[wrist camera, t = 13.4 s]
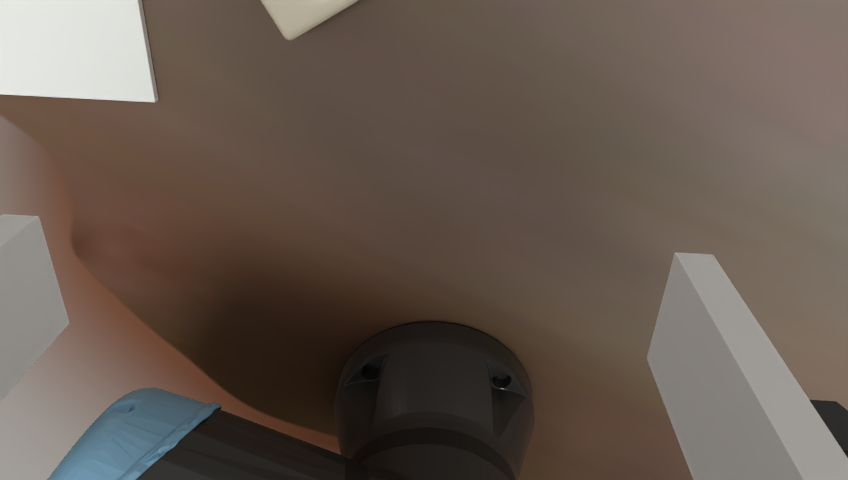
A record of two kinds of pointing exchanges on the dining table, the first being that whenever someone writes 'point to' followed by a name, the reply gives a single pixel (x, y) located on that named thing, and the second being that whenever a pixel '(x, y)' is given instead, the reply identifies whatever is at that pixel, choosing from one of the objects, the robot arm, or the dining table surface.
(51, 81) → the tray
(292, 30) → the electrical outlet
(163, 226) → the dining table surface
